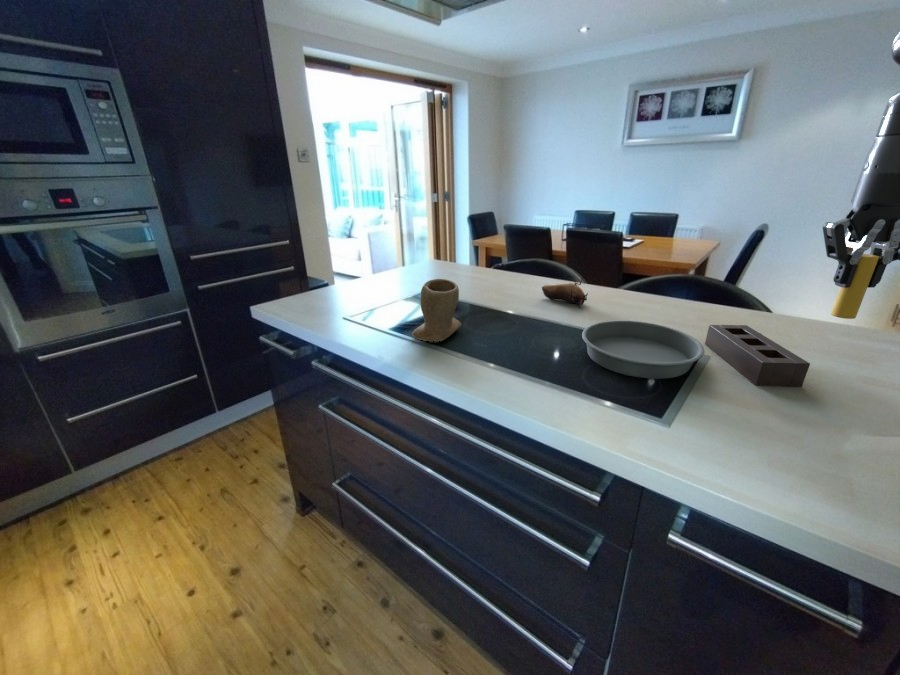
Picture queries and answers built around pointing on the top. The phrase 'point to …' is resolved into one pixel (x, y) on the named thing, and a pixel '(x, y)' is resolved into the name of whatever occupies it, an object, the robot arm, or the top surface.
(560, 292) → the vegetable
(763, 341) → the stand
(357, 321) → the top surface
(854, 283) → the peg
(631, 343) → the cake pan
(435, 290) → the stone cup
